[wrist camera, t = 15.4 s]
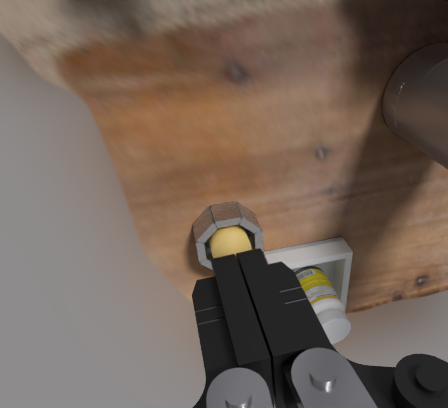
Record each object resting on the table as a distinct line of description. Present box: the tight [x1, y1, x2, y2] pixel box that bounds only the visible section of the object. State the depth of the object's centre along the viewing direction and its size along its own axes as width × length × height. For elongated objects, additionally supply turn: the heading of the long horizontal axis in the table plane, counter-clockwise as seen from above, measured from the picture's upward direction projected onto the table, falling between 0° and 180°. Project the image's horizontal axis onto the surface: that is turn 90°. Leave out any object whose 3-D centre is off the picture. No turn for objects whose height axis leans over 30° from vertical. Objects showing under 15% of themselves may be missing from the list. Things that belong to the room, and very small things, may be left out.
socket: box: [192, 201, 263, 270], centre depth 41 cm, size 7×7×3 cm
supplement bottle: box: [293, 265, 351, 344], centre depth 44 cm, size 5×5×8 cm
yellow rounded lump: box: [208, 224, 252, 258], centre depth 40 cm, size 4×4×3 cm
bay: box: [263, 237, 353, 309], centre depth 47 cm, size 10×10×3 cm
